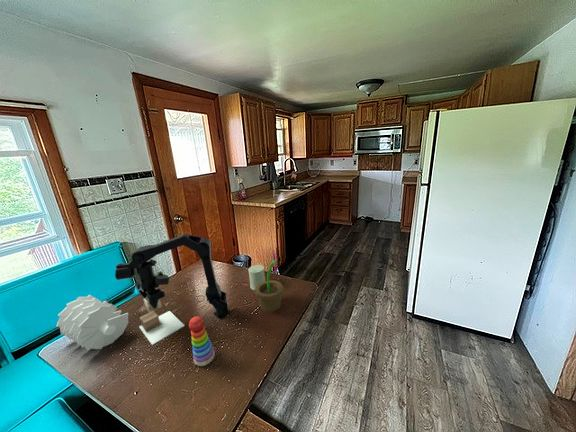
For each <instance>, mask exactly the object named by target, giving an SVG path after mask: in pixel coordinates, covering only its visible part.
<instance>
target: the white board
mask: <svg viewBox="0 0 576 432" xmlns="http://www.w3.org/2000/svg"><path fill="white" fill-rule="evenodd" d="M158 317H159V321H160V325H159V326H157V327H155V328H153V329H151V330H150V331H148V332H146V331H145V330H144V328H143V327H142V324H141V325H139V326H138V327H139V329H140V330H141V332H142V333H143V335H144V336H145V338H146V339H147V341H149V342H148V343H150V344H151V346H154V345H155V344H157V343H158V342H161V340H163V339H166V338H167V337H169V336H171V335H172V334H174V333H176V332H177V331H179V330H181V329H183V328H184V327H185V324H184V323H183V322H181V321H180V319H179V318H178V317H176V315H174V314H173V313H172V312H171V311H170V310H169V311H166V312H165V313H162V314H160V315H158Z"/></svg>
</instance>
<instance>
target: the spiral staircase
mask: <svg viewBox="0 0 576 432" xmlns="http://www.w3.org/2000/svg"><path fill="white" fill-rule="evenodd" d="M57 316H58V317H59V318H58V321H57V324H56V326H55V327H57V328H59V330H60V335H61V336H63V335H64V336H66V337H67V338H68V340H69V341H71V340H72V342H73V343H77V345H78V346H81V349H82V348H85V349H86V350H87V351H90V350H102V349H103V347H106V346H109V345H110V344H113V343H115V341H116V340H117V339H118V338H120V336H122V335H123V334H124V333H125V332H124V331H126V328H127V326H128V325H129V322H130V321H129V312H126V313H123V314H122V310H118V307H116V306H115V305H114V304H112V303H109V302H107V300H104V301H101V300H100V299H98V298H96V297H94V296H93V295H91V294H88V295H87V296H78V297H77V298H76V299H75V300H73V301H70V302H68V303H66V307H64V309H63V310H62V311H61V312H59V313H58V314H57Z"/></svg>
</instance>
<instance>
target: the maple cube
mask: <svg viewBox="0 0 576 432" xmlns="http://www.w3.org/2000/svg"><path fill="white" fill-rule="evenodd" d="M143 303H144V307H145V309H146V310H147V311H148V313H150V312H152V311H154V312H155V311H156V310H158V309H160V308H162V302H161V299H159V300H158V303H157V308H156V309H154V308H153V307H152V306H151V305H150V304H149V302H148V301H147V300H146V298H144V297H143Z"/></svg>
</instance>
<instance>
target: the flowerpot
mask: <svg viewBox="0 0 576 432" xmlns="http://www.w3.org/2000/svg"><path fill="white" fill-rule="evenodd" d="M275 255H276V254H275V251H274V250H272V257H273V259H272V262H271V263H270V264H269V267H268V270H267V275H266V278H267V279H266V280H265V282H261V283H260V284H258V285H257V286H256V288H255V290H254V293H255V296H256V298H257V299H258V302H259V305H260V308H261V310H262V311H263V312H267V313H273V312H276V311H278V310H279V309H280V308H281V306H282V305H281V303H282V295H283V293H284V285H283V284H282V283H281V282H280V281H278V280H274V279H273V280H271V279H270V276H271V272H272V267H273V268H274V273H275V276H277V262H276V256H275Z"/></svg>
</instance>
